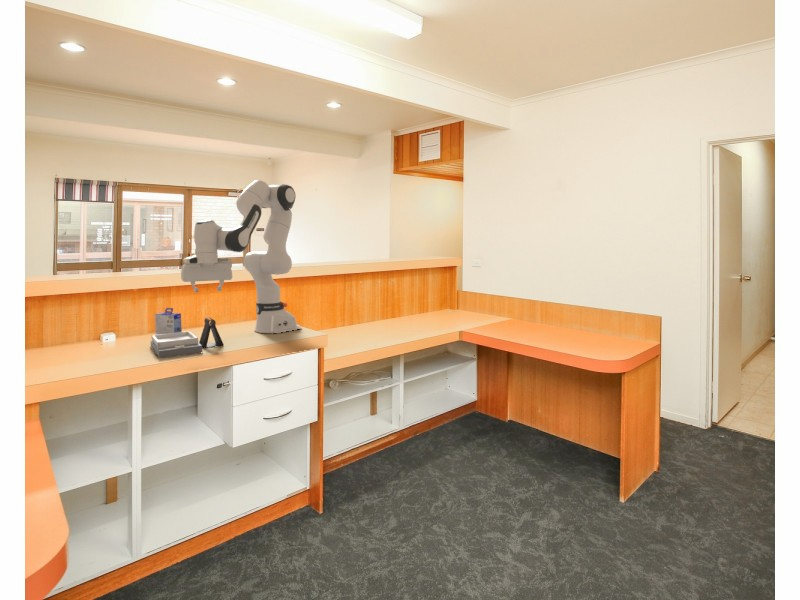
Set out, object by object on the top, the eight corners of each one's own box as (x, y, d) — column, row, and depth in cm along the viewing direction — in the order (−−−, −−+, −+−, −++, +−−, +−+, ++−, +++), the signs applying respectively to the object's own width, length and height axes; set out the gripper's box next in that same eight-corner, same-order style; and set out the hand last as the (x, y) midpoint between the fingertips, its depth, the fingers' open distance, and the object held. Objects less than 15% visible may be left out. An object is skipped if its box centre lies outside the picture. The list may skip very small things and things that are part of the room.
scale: (191, 342, 217) (190, 330, 216) (202, 352, 200) (201, 339, 200) (150, 347, 207) (150, 335, 207) (159, 358, 191) (158, 344, 190)
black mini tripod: (202, 348, 207) (200, 320, 205) (198, 345, 212) (197, 318, 210) (223, 345, 212) (222, 318, 210) (219, 342, 217) (218, 316, 215)
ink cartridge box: (183, 339, 222) (181, 308, 220) (175, 342, 217) (173, 310, 215) (163, 338, 224) (161, 307, 222) (155, 341, 219) (153, 309, 217)
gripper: (229, 257, 215) (230, 289, 217) (179, 258, 203) (180, 292, 205) (233, 258, 210) (234, 290, 212) (182, 259, 198) (184, 293, 200)
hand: (207, 291), depth 208 cm, fingers open, 8 cm apart
